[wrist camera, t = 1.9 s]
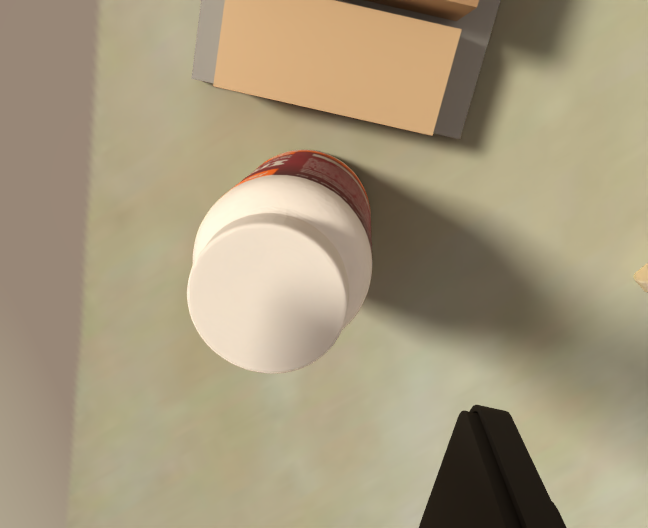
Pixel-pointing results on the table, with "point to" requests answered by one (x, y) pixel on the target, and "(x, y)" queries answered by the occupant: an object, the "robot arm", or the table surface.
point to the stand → (351, 56)
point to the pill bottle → (282, 263)
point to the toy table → (642, 277)
